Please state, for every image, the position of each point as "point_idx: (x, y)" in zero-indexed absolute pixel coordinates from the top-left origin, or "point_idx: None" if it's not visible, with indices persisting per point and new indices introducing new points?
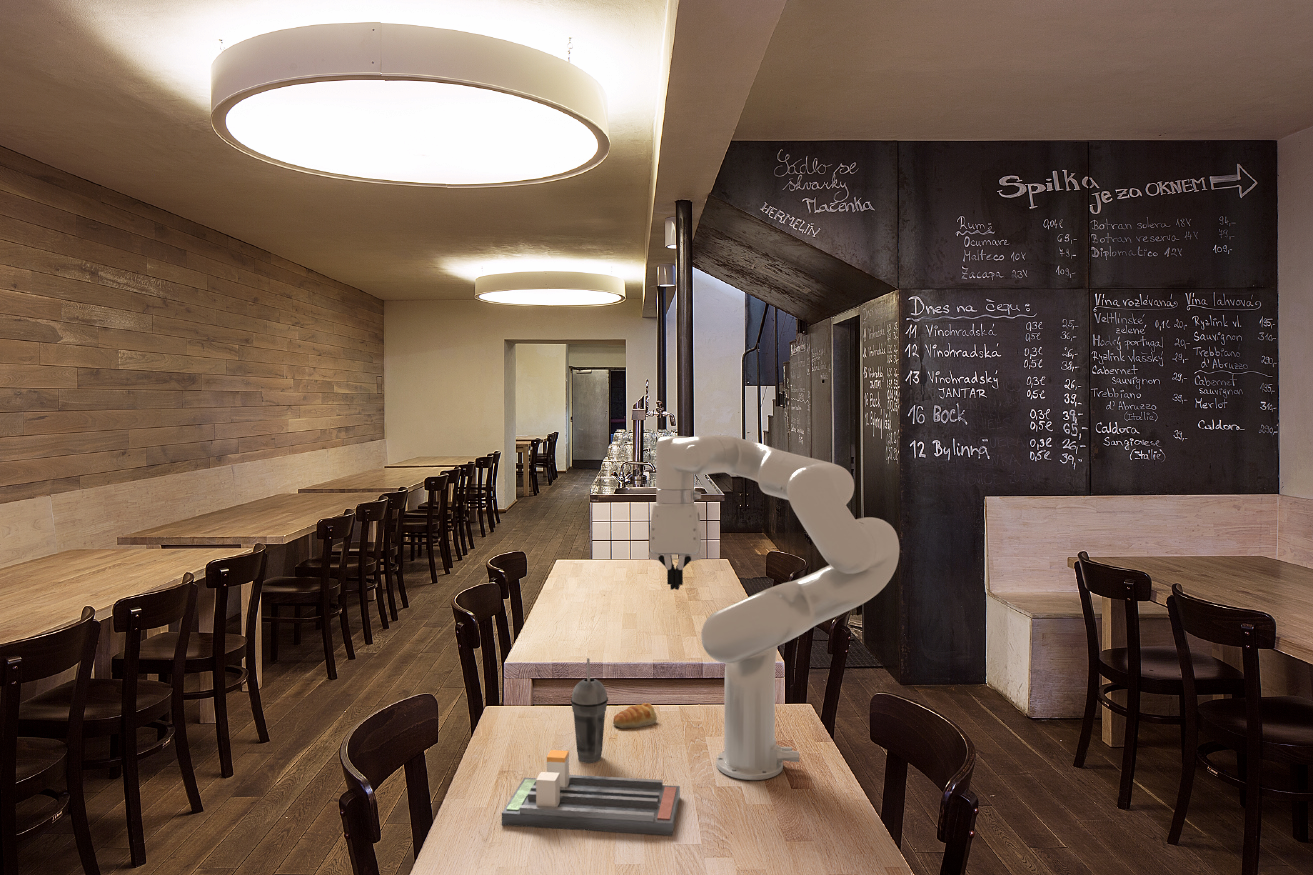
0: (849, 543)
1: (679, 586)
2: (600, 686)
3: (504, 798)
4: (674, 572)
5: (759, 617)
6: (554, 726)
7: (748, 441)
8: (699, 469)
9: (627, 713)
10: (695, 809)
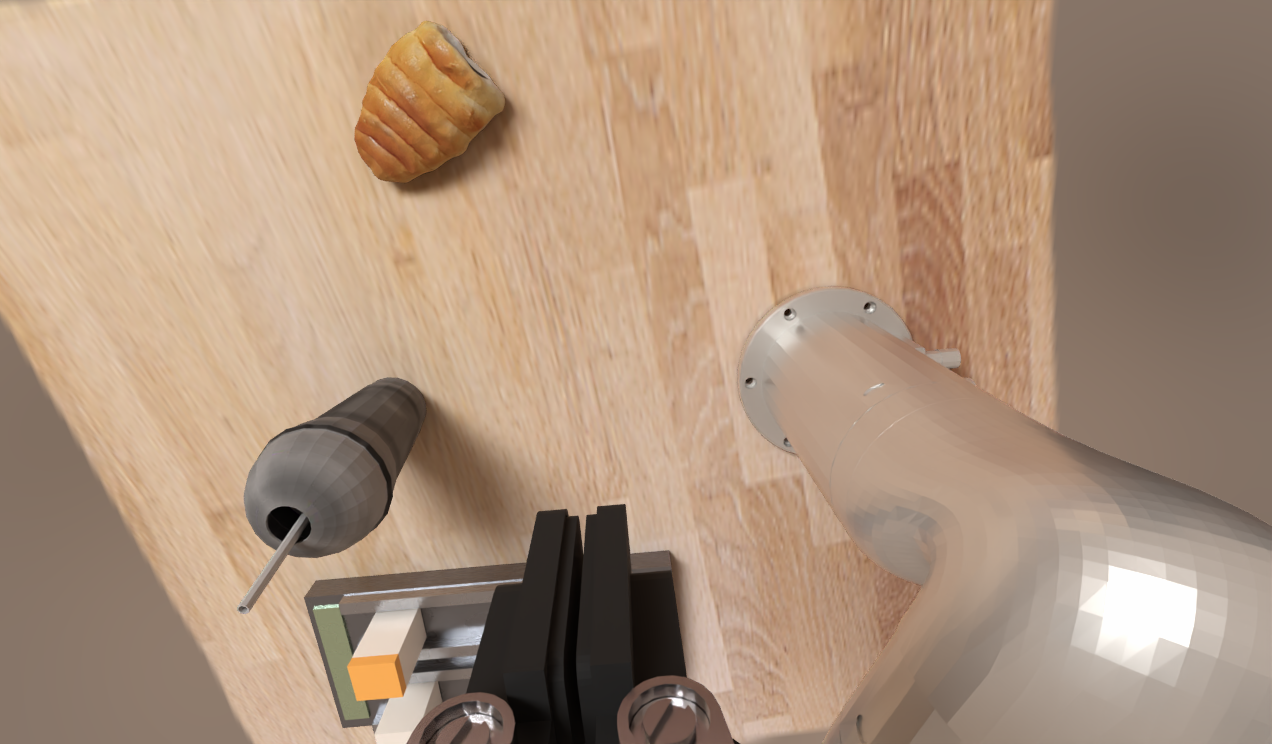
0: None
1: (627, 526)
2: (348, 524)
3: (298, 624)
4: (579, 739)
5: None
6: (178, 203)
7: None
8: None
9: (401, 148)
10: (708, 588)
